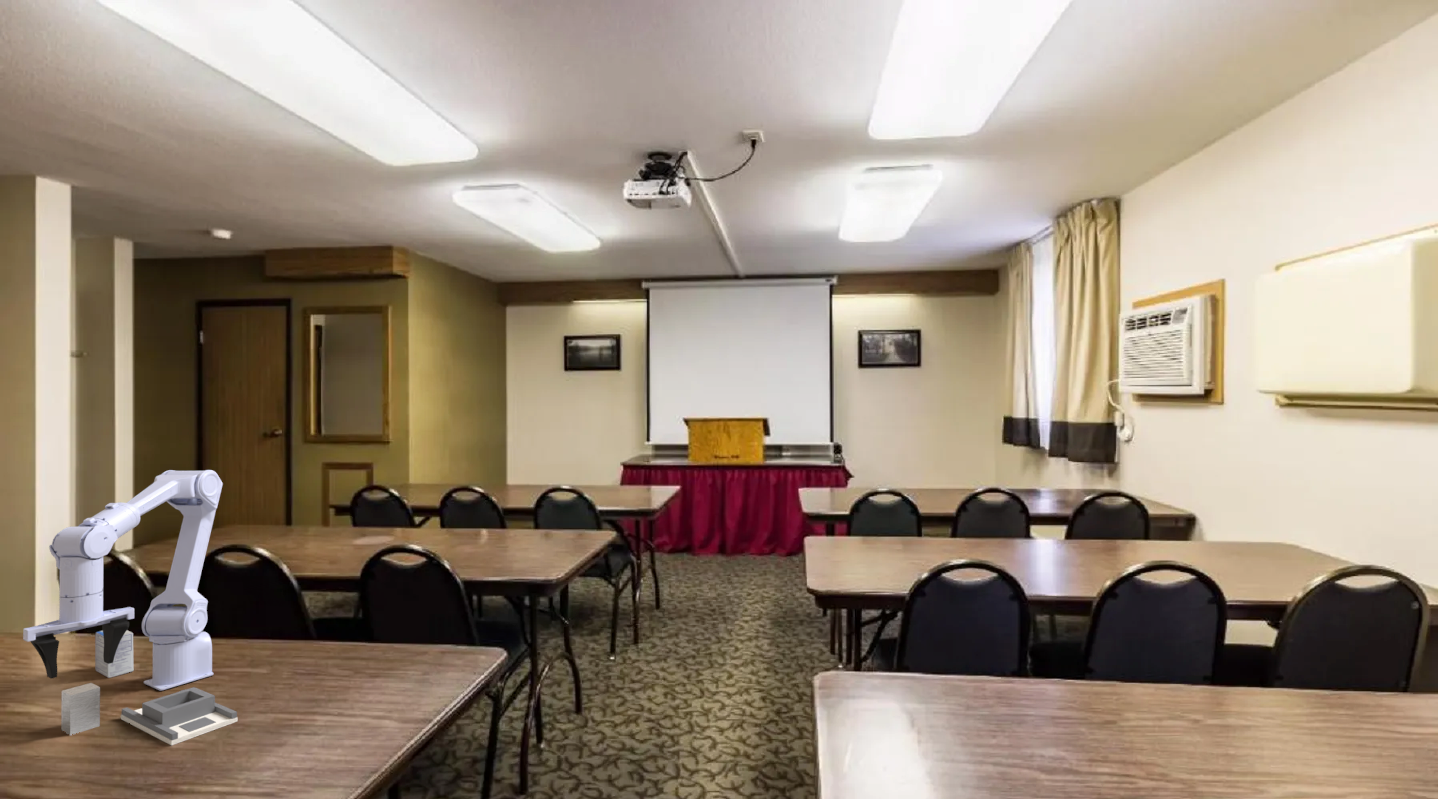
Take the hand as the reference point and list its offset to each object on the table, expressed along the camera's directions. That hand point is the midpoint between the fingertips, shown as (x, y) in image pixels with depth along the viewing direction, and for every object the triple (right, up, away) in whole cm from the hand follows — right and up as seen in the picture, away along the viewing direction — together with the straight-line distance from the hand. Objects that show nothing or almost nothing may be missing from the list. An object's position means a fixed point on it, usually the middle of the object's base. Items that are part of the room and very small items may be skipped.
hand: (81, 669), depth 120 cm
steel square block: (0, -11, 0) cm, 10 cm away
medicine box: (-17, -11, +26) cm, 33 cm away
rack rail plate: (+15, -10, +3) cm, 19 cm away
